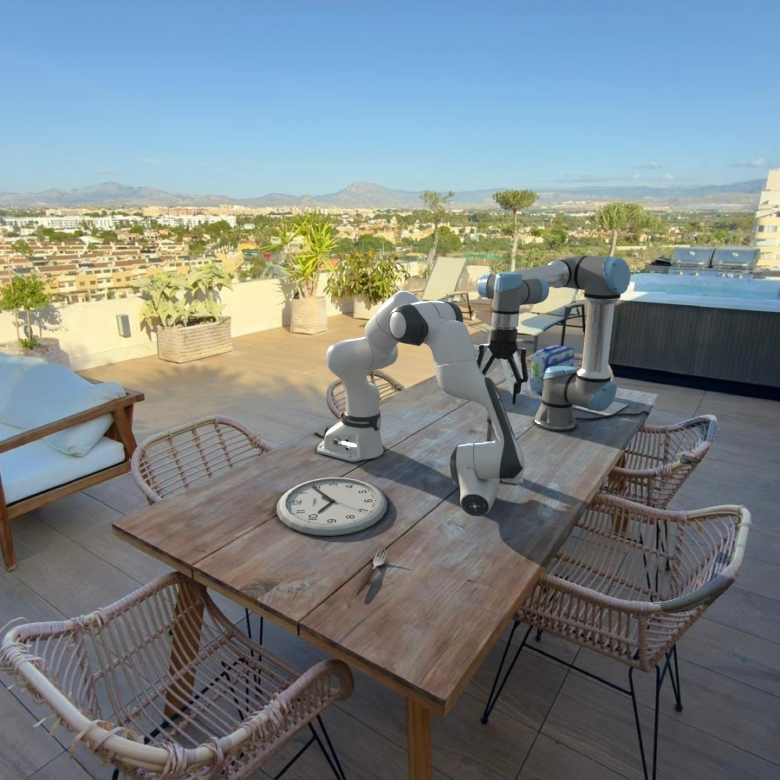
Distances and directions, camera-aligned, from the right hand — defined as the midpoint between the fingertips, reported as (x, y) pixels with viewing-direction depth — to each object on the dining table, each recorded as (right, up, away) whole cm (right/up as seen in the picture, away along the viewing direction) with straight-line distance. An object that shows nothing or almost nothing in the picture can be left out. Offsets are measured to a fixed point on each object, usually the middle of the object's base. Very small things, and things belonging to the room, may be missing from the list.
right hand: (498, 401), depth 158 cm
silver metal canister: (0, -22, +7) cm, 23 cm away
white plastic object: (+9, +2, +85) cm, 86 cm away
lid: (0, -5, +2) cm, 5 cm away
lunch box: (+43, +3, +90) cm, 100 cm away
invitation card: (+59, -4, +68) cm, 90 cm away
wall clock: (-49, -28, -15) cm, 58 cm away
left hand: (-2, -17, 0) cm, 18 cm away
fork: (-37, -37, -43) cm, 68 cm away
